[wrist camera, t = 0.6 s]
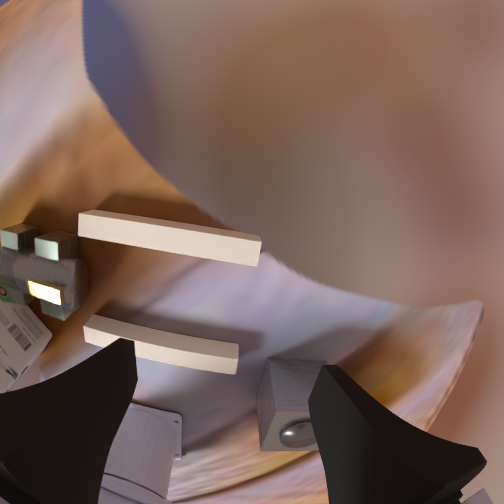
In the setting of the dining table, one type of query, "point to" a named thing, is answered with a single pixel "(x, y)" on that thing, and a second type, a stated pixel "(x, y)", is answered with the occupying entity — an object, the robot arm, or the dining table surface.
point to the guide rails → (176, 241)
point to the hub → (286, 405)
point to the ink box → (18, 340)
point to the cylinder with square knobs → (43, 269)
